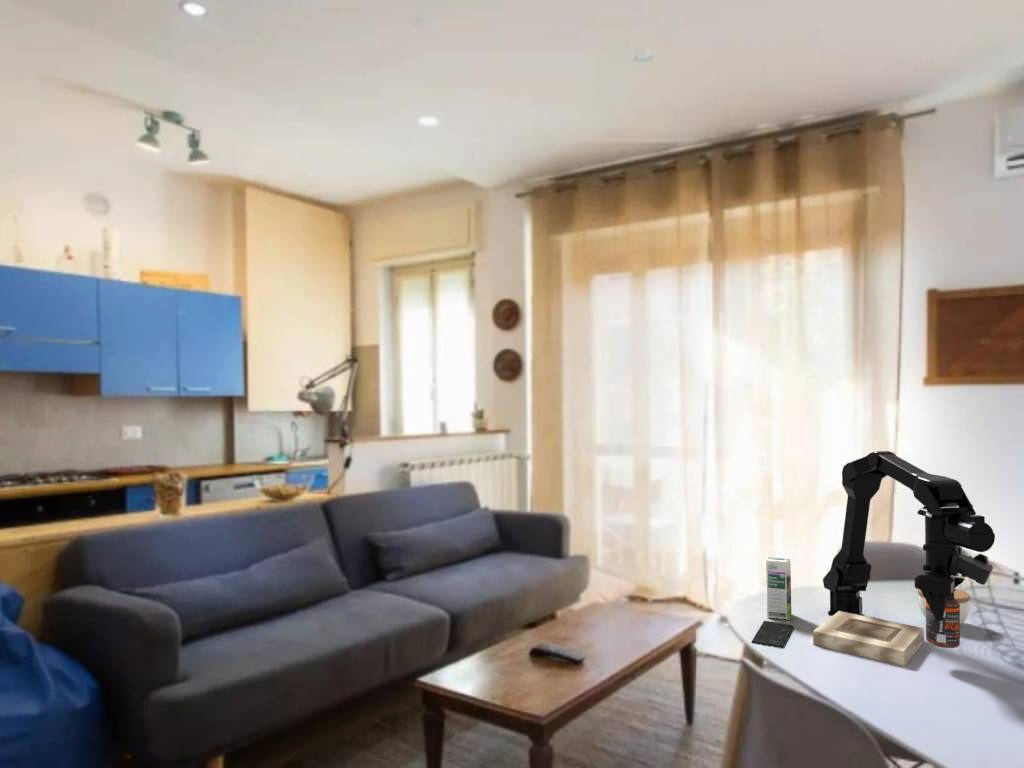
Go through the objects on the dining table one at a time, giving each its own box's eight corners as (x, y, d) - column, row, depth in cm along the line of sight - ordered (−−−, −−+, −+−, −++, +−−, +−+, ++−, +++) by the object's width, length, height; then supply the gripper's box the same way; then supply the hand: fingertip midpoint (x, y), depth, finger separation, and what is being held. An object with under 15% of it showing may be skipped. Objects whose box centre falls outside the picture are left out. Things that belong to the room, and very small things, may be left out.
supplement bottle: (949, 651, 135) (948, 594, 135) (919, 641, 141) (918, 587, 141) (966, 645, 138) (965, 590, 138) (936, 636, 143) (936, 582, 143)
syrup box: (766, 618, 169) (765, 560, 169) (767, 611, 175) (766, 554, 175) (791, 621, 167) (790, 562, 167) (791, 613, 173) (790, 556, 173)
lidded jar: (917, 613, 171) (917, 576, 172) (968, 620, 166) (968, 582, 166) (918, 626, 162) (917, 587, 162) (972, 634, 157) (971, 594, 157)
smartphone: (751, 641, 153) (763, 620, 166) (751, 645, 153) (763, 624, 166) (783, 646, 150) (793, 624, 163) (783, 651, 150) (793, 629, 163)
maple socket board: (813, 644, 152) (813, 630, 152) (839, 623, 165) (838, 610, 165) (903, 665, 140) (903, 651, 140) (924, 641, 153) (923, 627, 153)
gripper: (981, 555, 127) (982, 638, 127) (996, 538, 141) (997, 613, 141) (913, 546, 135) (914, 625, 135) (934, 531, 148) (935, 602, 148)
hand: (942, 616), depth 139 cm, fingers closed on supplement bottle, 6 cm apart
